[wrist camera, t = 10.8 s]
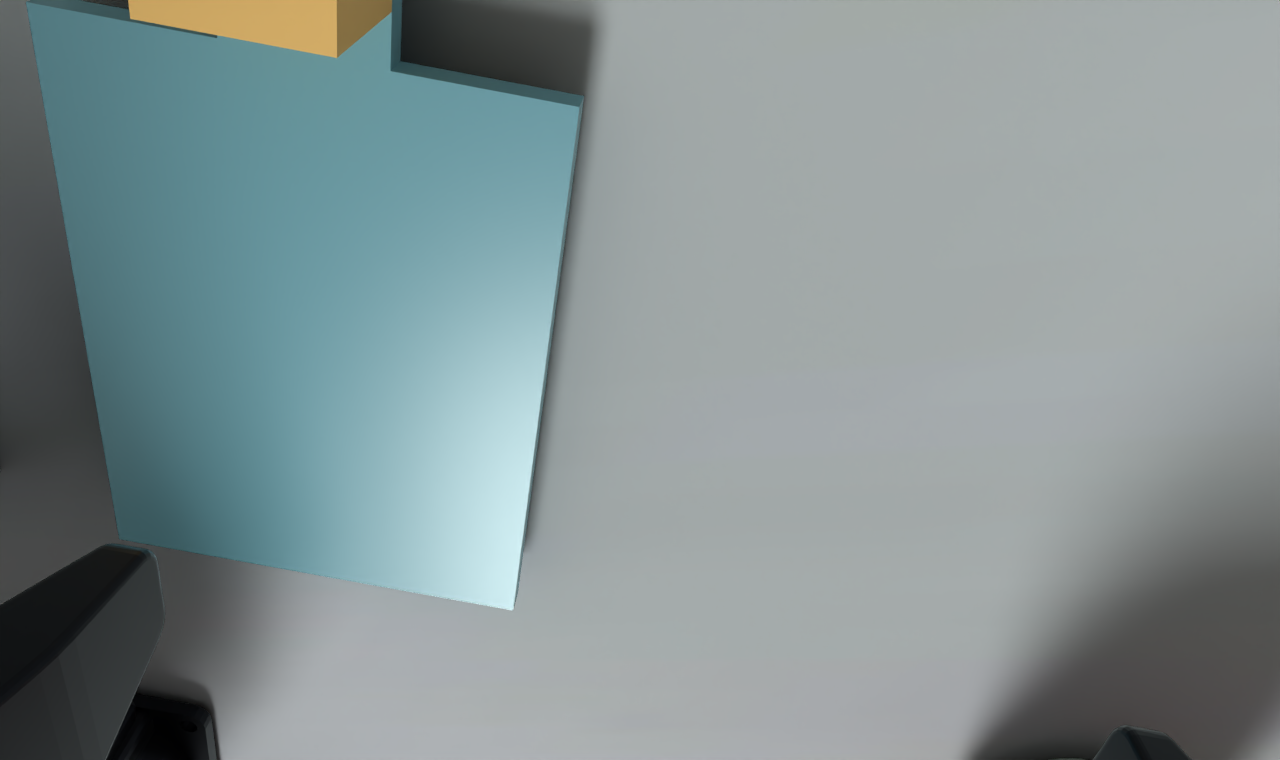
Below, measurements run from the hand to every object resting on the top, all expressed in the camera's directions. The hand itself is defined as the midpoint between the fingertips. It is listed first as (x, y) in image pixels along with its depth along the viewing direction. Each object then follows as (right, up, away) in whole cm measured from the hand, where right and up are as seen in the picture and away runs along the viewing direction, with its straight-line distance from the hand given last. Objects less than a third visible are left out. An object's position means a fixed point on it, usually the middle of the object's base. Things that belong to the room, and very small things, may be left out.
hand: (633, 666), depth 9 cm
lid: (-6, +5, +12) cm, 14 cm away
